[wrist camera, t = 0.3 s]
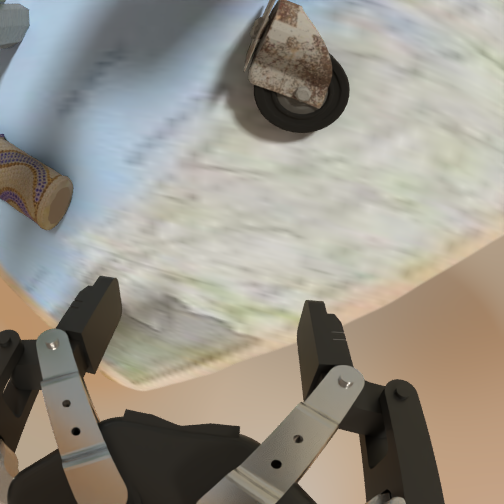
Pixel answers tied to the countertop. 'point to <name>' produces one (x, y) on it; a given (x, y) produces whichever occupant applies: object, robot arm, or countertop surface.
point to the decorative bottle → (33, 186)
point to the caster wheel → (294, 71)
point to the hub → (12, 24)
